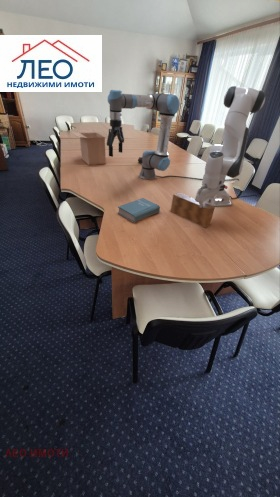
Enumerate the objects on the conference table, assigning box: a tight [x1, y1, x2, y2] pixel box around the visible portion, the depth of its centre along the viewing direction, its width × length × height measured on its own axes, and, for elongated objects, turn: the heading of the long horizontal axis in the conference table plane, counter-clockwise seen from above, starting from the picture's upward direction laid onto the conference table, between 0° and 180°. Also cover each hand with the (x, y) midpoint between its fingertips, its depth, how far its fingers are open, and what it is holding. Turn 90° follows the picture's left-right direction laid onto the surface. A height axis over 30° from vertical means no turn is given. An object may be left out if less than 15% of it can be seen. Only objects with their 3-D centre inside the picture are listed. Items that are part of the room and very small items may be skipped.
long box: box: [170, 192, 216, 228], centre depth 143 cm, size 28×6×12 cm, turn 44°
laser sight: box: [137, 156, 142, 165], centre depth 237 cm, size 10×22×10 cm, turn 78°
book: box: [117, 197, 161, 223], centre depth 145 cm, size 23×16×5 cm
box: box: [70, 129, 109, 166], centre depth 229 cm, size 44×36×27 cm
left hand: (115, 154), depth 154 cm, fingers open, 13 cm apart
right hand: (205, 204), depth 135 cm, fingers open, 8 cm apart
